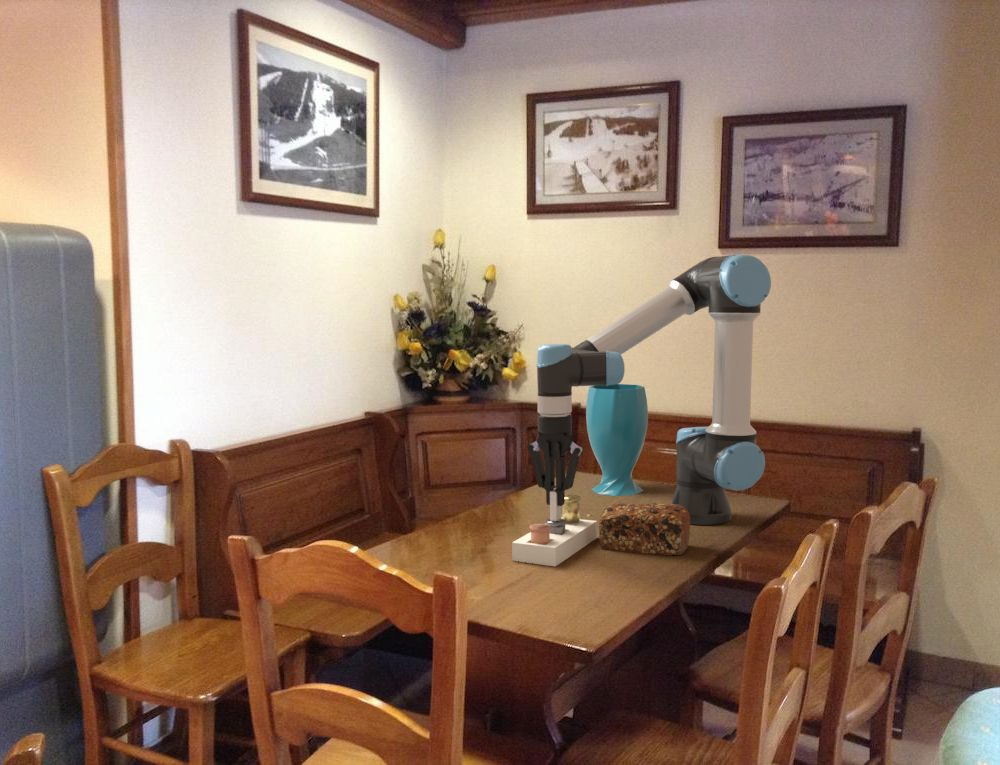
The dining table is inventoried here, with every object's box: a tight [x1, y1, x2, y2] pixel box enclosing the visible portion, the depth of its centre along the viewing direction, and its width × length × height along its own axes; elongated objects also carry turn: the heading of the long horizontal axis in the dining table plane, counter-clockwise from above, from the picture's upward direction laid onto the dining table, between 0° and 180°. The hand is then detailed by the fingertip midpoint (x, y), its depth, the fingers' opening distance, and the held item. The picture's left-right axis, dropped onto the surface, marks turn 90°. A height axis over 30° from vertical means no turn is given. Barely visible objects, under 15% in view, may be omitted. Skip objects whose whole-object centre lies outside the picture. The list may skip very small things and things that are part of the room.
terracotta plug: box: [529, 523, 550, 545], centre depth 189 cm, size 4×4×6 cm
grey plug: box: [545, 518, 566, 535], centre depth 197 cm, size 4×4×6 cm
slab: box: [511, 516, 598, 567], centre depth 197 cm, size 10×24×4 cm, turn 153°
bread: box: [598, 502, 691, 556], centre depth 197 cm, size 19×11×10 cm, turn 66°
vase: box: [585, 383, 649, 497], centre depth 254 cm, size 17×17×30 cm
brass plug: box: [561, 494, 582, 524], centre depth 204 cm, size 4×4×6 cm
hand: (555, 519), depth 197 cm, fingers closed
